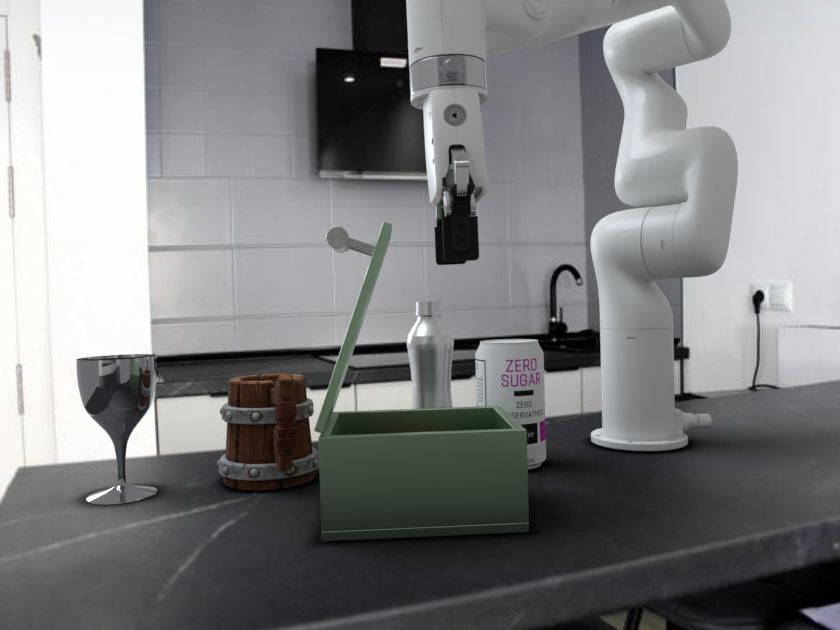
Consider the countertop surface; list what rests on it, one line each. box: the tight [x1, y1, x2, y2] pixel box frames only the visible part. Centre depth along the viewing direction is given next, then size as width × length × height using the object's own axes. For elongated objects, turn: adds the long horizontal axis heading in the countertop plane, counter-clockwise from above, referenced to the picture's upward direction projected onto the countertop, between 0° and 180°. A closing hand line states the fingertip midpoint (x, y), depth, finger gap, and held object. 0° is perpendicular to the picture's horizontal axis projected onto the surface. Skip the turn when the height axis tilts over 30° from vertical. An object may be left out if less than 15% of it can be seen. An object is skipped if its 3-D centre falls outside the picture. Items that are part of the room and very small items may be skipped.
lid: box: [313, 221, 393, 434], centre depth 66 cm, size 19×14×5 cm
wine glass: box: [75, 353, 158, 506], centre depth 76 cm, size 8×8×15 cm
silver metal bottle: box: [406, 300, 455, 409], centre depth 94 cm, size 6×7×20 cm
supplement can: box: [474, 338, 547, 470], centre depth 85 cm, size 8×8×15 cm
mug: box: [216, 373, 319, 492], centre depth 80 cm, size 12×14×15 cm
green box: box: [317, 406, 530, 543], centre depth 67 cm, size 18×14×9 cm
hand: (456, 262), depth 69 cm, fingers open, 9 cm apart
